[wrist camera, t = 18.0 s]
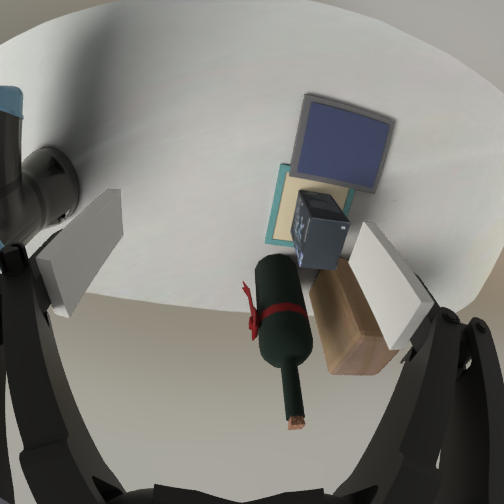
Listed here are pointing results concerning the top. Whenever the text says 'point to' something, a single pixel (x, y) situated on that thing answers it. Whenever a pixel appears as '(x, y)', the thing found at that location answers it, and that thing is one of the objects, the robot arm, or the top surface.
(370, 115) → the ink pad
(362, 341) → the wooden block
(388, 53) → the top surface
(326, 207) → the box
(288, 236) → the print frame
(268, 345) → the wine bottle
